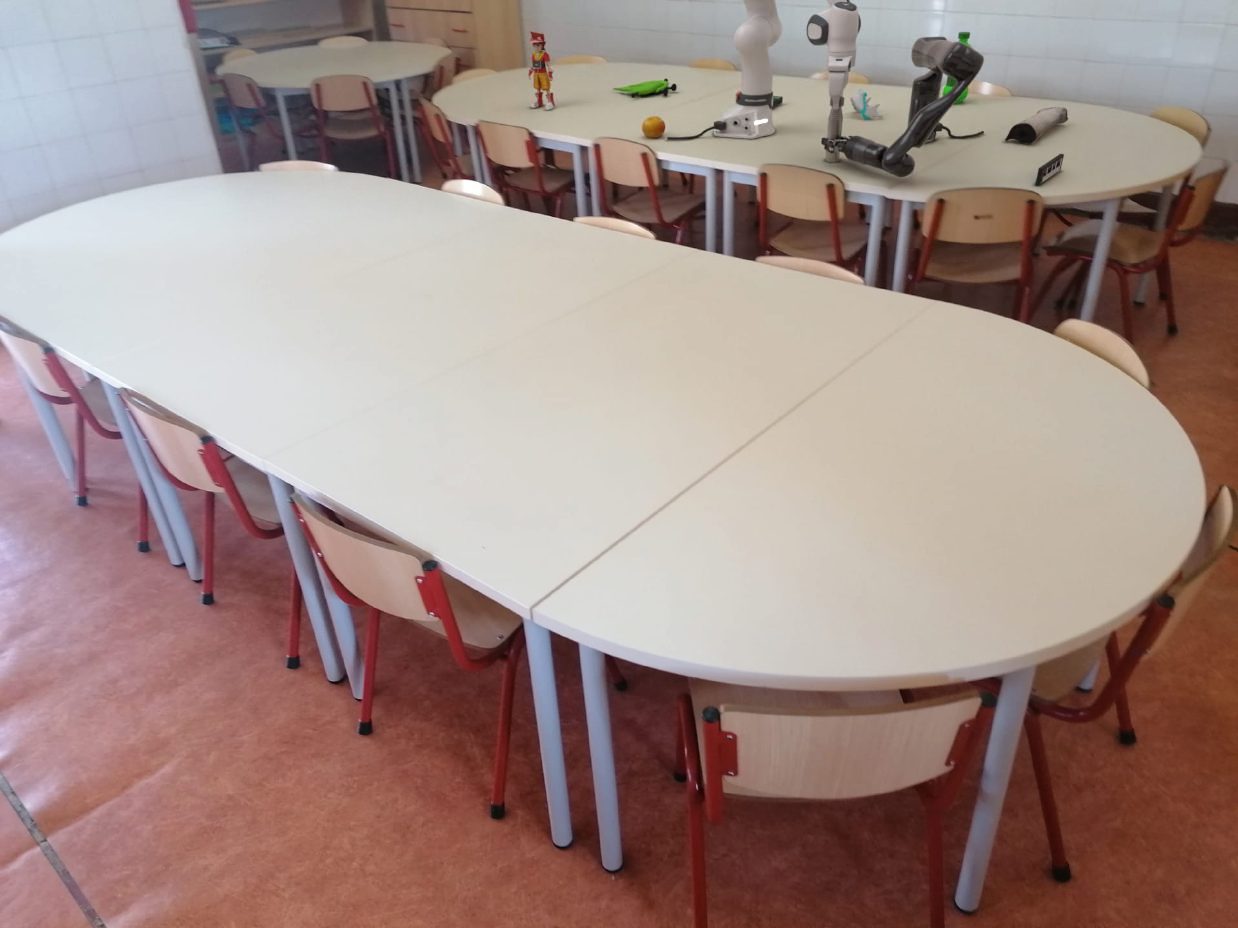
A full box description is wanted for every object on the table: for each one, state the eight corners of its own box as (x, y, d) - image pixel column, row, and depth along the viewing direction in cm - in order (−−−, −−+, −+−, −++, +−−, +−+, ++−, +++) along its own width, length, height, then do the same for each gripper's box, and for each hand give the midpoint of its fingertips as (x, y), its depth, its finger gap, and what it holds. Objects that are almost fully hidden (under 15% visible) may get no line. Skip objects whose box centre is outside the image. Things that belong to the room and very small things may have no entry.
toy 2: (686, 85, 398) (631, 84, 414) (685, 72, 395) (629, 72, 411) (651, 104, 381) (596, 103, 397) (650, 92, 378) (594, 91, 394)
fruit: (635, 129, 332) (646, 109, 329) (642, 132, 340) (653, 113, 337) (653, 141, 331) (664, 122, 328) (660, 144, 339) (671, 125, 336)
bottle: (831, 157, 304) (836, 98, 293) (842, 160, 300) (847, 100, 290) (822, 160, 301) (826, 100, 291) (832, 163, 298) (837, 103, 287)
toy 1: (525, 109, 381) (517, 32, 364) (534, 104, 388) (527, 28, 371) (550, 110, 377) (543, 32, 360) (559, 105, 384) (553, 28, 367)
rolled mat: (1035, 112, 325) (1059, 94, 316) (1049, 133, 325) (1073, 116, 317) (1000, 135, 307) (1025, 117, 299) (1015, 157, 308) (1040, 140, 300)
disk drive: (768, 112, 357) (782, 103, 367) (768, 105, 355) (783, 96, 365) (744, 110, 362) (759, 101, 372) (744, 103, 360) (759, 94, 370)
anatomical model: (845, 88, 346) (871, 81, 345) (848, 116, 352) (873, 109, 351) (857, 98, 334) (883, 90, 333) (859, 126, 340) (885, 119, 339)
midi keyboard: (1039, 185, 269) (1043, 168, 266) (1035, 184, 270) (1038, 168, 267) (1060, 170, 279) (1064, 154, 277) (1056, 169, 280) (1060, 153, 277)
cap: (838, 103, 293) (839, 95, 292) (846, 105, 290) (847, 98, 289) (827, 105, 292) (827, 97, 291) (834, 107, 289) (835, 100, 287)
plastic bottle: (973, 101, 354) (984, 32, 339) (955, 106, 349) (966, 36, 335) (952, 97, 361) (962, 29, 346) (934, 102, 356) (944, 33, 342)
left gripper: (835, 53, 292) (831, 98, 300) (826, 66, 276) (823, 113, 284) (854, 53, 290) (850, 98, 298) (847, 67, 275) (843, 114, 282)
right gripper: (881, 135, 287) (846, 124, 300) (845, 142, 282) (812, 131, 295) (878, 158, 292) (844, 147, 304) (843, 166, 286) (810, 154, 299)
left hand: (837, 106), depth 291 cm, fingers open, 7 cm apart
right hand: (828, 139), depth 299 cm, fingers closed on bottle, 4 cm apart
